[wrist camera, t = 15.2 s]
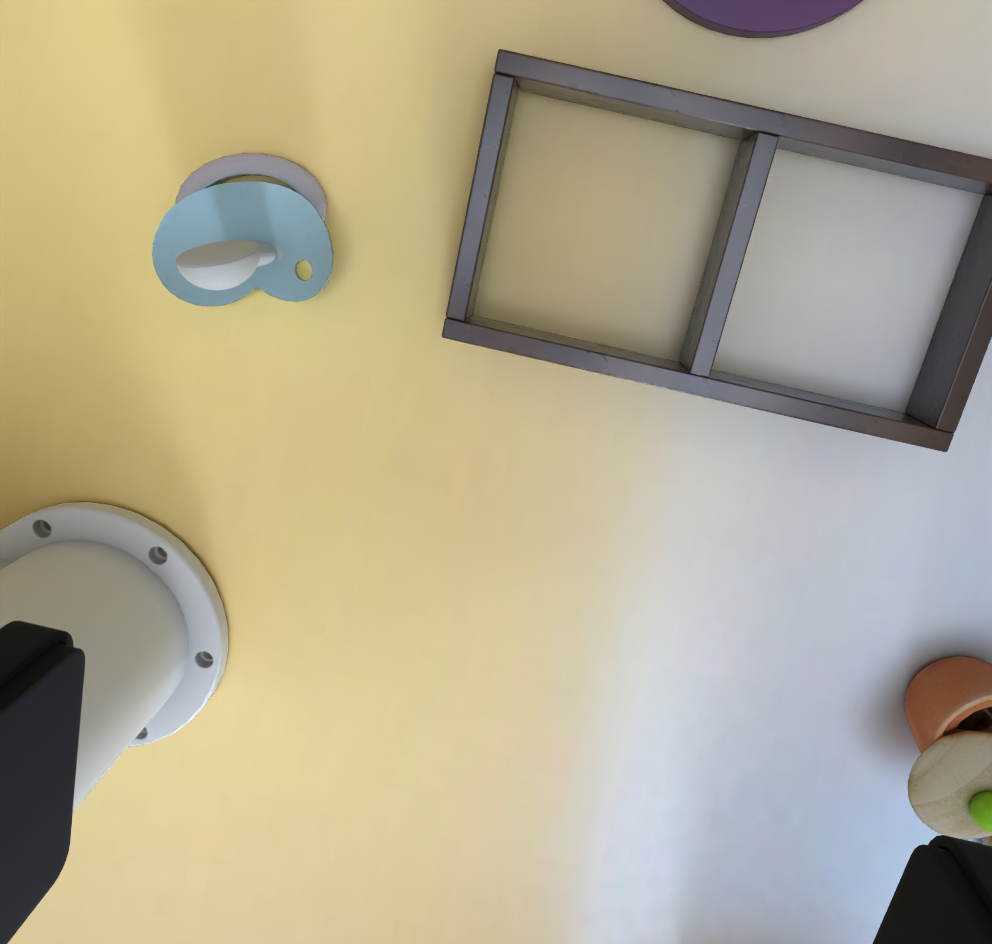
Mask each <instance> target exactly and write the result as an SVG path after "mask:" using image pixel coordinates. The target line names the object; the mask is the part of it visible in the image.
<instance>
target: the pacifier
mask: <svg viewBox="0 0 992 944" xmlns="http://www.w3.org/2000/svg"><path fill="white" fill-rule="evenodd" d="M245 175H264V176H269V177H274V178H276V179H279V180H281V181H283V182H286V183H287V184H288V185H290V186H291V187H292V188H294V189H295V190H296V191H297V192H295V191H293V190H291V189H288V188H286V187H283V186H280V185H277V184H272V183H267V182H259V181H240V182H231V183H225V184H219V183H221V182H223V181H226V180H228V179H231V178H234V177H239V176H245ZM218 184H219V185H218ZM326 209H327V202H326V198H325V195H324V192H323V189H322V187H321V186H320V185H319V183H318V182H317V181H316V179H315V178H314V176H312V175H311V174H310V173H309V172H307V171H306V170H305V169H303V168H302V167H301V166H300V165H297V164H295V163H293V162H291V161H288V160H286V159H284V158H281V157H276V156H272V155H267V154H254V153H242V154H236V155H230V156H225V157H221V158H219V159H216V160H214V161H211V162H209V163H206V164H205V165H203V166H202V167H200V168H199V169H197V170H196V171H195V172H193V173H192V174H191V175H190V176H189V177H188V178H187V180H186V181H185V182H184V183H183V184H182V186H181V188H180V190H179V193H178V195H177V198H176V204H175V205H174V206H173V207H172V208H171V209H170V210H169V211H168V212H167V213H166V214H165V216H164V218H163V219H162V221H161V223H160V225H159V228H158V230H157V232H156V235H155V239H154V242H153V251H152V256H153V263H154V267H155V270H156V273H157V275H158V277H159V278H160V280H161V282H162V283H163V285H164V286H165V287H166V288H167V289H168V290H169V291H170V292H171V293H173V294H174V295H175V296H177V297H178V298H180V299H182V300H184V301H186V302H189V303H191V304H194V305H199V306H220V305H226V304H229V303H232V302H235V301H237V300H238V299H240V298H242V297H244V296H245V295H247V294H248V293H249V292H250V291H252V290H256V289H259V290H263V291H264V292H266V293H267V294H269V295H271V296H273V297H276V298H278V299H281V300H285V301H294V302H298V301H304V300H308V299H310V298H312V297H314V296H315V295H317V294H318V293H319V292H320V291H321V290H323V288H324V287H325V286H326V284H327V283H328V281H329V278H330V275H331V273H332V267H333V248H332V242H331V238H330V234H329V231H328V229H327V227H326V225H325V222H324V221H325V219H326ZM301 260H307V261H308V262H309V263H310V264H311V266H312V276H311V278H310V279H309V280H307V281H305V280H302V279H301V278H300V277H299V276H298V274H297V265H298V263H299V262H300V261H301Z"/></svg>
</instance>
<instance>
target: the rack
mask: <svg viewBox="0 0 992 944" xmlns="http://www.w3.org/2000/svg"><path fill="white" fill-rule="evenodd" d="M494 71H495V73H494V74H493V79H492V84H491V89H490V94H489V99H488V104H487V109H486V114H485V119H484V124H483V129H482V134H481V139H480V145H479V150H478V155H477V160H476V165H475V170H474V175H473V180H472V185H471V190H470V195H469V200H468V205H467V210H466V216H465V221H464V226H463V231H462V236H461V241H460V246H459V251H458V256H457V261H456V266H455V271H454V276H453V281H452V286H451V292H450V297H449V302H448V307H447V312H446V317H447V318H446V319H445V322H444V327H443V332H442V337H443V338H446V339H451V340H455V341H460V342H464V343H468V344H473V345H477V346H482V347H486V348H490V349H495V350H499V351H504V352H508V353H512V354H517V355H521V356H525V357H530V358H534V359H539V360H543V361H547V362H552V363H556V364H561V365H565V366H569V367H574V368H578V369H583V370H587V371H591V372H596V373H600V374H604V375H609V376H613V377H618V378H622V379H626V380H631V381H635V382H640V383H644V384H648V385H653V386H657V387H662V388H666V389H670V390H675V391H679V392H684V393H688V394H692V395H697V396H701V397H705V398H710V399H714V400H719V401H723V402H727V403H732V404H736V405H741V406H745V407H749V408H754V409H758V410H763V411H767V412H771V413H776V414H780V415H784V416H789V417H793V418H798V419H802V420H806V421H811V422H815V423H820V424H824V425H828V426H833V427H837V428H842V429H846V430H850V431H855V432H859V433H863V434H868V435H872V436H877V437H881V438H885V439H890V440H894V441H899V442H903V443H907V444H912V445H916V446H921V447H925V448H929V449H934V450H938V451H943V452H947V451H948V448H949V446H950V443H951V440H952V438H953V435H954V434H953V433H954V432H955V431H956V428H957V425H958V423H959V420H960V418H961V415H962V412H963V410H964V407H965V405H966V402H967V399H968V397H969V394H970V392H971V389H972V386H973V384H974V381H975V379H976V376H977V373H978V371H979V368H980V366H981V363H982V360H983V358H984V355H985V353H986V350H987V347H988V345H989V342H990V340H991V337H992V159H989V158H984V157H980V156H975V155H971V154H966V153H962V152H957V151H953V150H948V149H944V148H940V147H935V146H931V145H926V144H922V143H917V142H913V141H908V140H904V139H899V138H895V137H891V136H886V135H882V134H877V133H873V132H868V131H864V130H859V129H855V128H850V127H846V126H841V125H837V124H833V123H828V122H824V121H819V120H815V119H810V118H806V117H801V116H797V115H792V114H788V113H783V112H779V111H775V110H770V109H766V108H761V107H757V106H752V105H748V104H743V103H739V102H734V101H730V100H726V99H721V98H717V97H712V96H708V95H703V94H699V93H694V92H690V91H685V90H681V89H676V88H672V87H668V86H663V85H659V84H654V83H650V82H645V81H641V80H636V79H632V78H627V77H623V76H619V75H614V74H610V73H605V72H601V71H596V70H592V69H587V68H583V67H578V66H574V65H569V64H565V63H561V62H556V61H552V60H547V59H543V58H538V57H534V56H529V55H525V54H520V53H516V52H511V51H507V50H503V49H499V50H498V53H497V58H496V63H495V69H494ZM518 90H521V91H525V92H529V93H534V94H538V95H543V96H547V97H552V98H556V99H561V100H565V101H569V102H574V103H578V104H583V105H587V106H592V107H596V108H601V109H605V110H610V111H614V112H618V113H623V114H627V115H632V116H636V117H641V118H645V119H650V120H654V121H658V122H663V123H667V124H672V125H676V126H681V127H685V128H690V129H694V130H699V131H703V132H707V133H712V134H716V135H721V136H725V137H730V138H734V139H739V140H742V141H741V143H740V146H739V150H738V154H737V157H736V161H735V164H734V168H733V171H732V175H731V179H730V182H729V186H728V189H727V193H726V196H725V200H724V203H723V207H722V211H721V214H720V218H719V221H718V225H717V228H716V232H715V236H714V239H713V243H712V246H711V250H710V253H709V257H708V260H707V264H706V268H705V271H704V275H703V278H702V282H701V285H700V289H699V293H698V296H697V300H696V303H695V307H694V310H693V314H692V317H691V321H690V325H689V328H688V332H687V335H686V339H685V342H684V346H683V350H682V353H681V357H680V360H679V362H676V361H671V360H667V359H663V358H658V357H654V356H649V355H645V354H641V353H636V352H632V351H627V350H623V349H619V348H614V347H610V346H605V345H601V344H597V343H592V342H588V341H583V340H579V339H575V338H570V337H566V336H561V335H557V334H553V333H548V332H544V331H539V330H535V329H531V328H526V327H522V326H517V325H513V324H509V323H504V322H500V321H495V320H491V319H487V318H482V317H478V316H473V315H472V314H473V310H474V305H475V300H476V295H477V290H478V285H479V281H480V276H481V271H482V266H483V261H484V256H485V251H486V247H487V242H488V237H489V232H490V227H491V222H492V218H493V213H494V208H495V203H496V198H497V193H498V188H499V184H500V179H501V174H502V169H503V164H504V159H505V155H506V150H507V145H508V140H509V135H510V130H511V125H512V121H513V116H514V111H515V106H516V101H517V96H518ZM776 148H779V149H783V150H788V151H792V152H796V153H801V154H805V155H810V156H814V157H819V158H823V159H828V160H832V161H837V162H841V163H845V164H850V165H854V166H859V167H863V168H868V169H872V170H877V171H881V172H885V173H890V174H894V175H899V176H903V177H908V178H912V179H917V180H921V181H926V182H930V183H934V184H939V185H943V186H948V187H952V188H957V189H961V190H966V191H970V192H974V193H979V194H983V195H985V196H984V198H983V201H982V204H981V207H980V209H979V212H978V215H977V218H976V220H975V223H974V226H973V229H972V231H971V234H970V237H969V240H968V242H967V245H966V248H965V251H964V253H963V256H962V259H961V262H960V264H959V267H958V270H957V272H956V275H955V278H954V281H953V283H952V286H951V289H950V292H949V294H948V297H947V300H946V303H945V305H944V308H943V311H942V314H941V316H940V319H939V322H938V325H937V327H936V330H935V333H934V336H933V338H932V341H931V344H930V346H929V349H928V352H927V355H926V357H925V360H924V363H923V366H922V368H921V371H920V374H919V377H918V379H917V382H916V385H915V388H914V390H913V393H912V396H911V399H910V401H909V404H908V407H907V410H906V414H904V413H900V412H896V411H891V410H887V409H882V408H878V407H874V406H869V405H865V404H860V403H856V402H852V401H847V400H843V399H838V398H834V397H830V396H825V395H821V394H816V393H812V392H808V391H803V390H799V389H794V388H790V387H786V386H781V385H777V384H772V383H768V382H764V381H759V380H755V379H750V378H746V377H742V376H737V375H733V374H728V373H724V372H720V371H715V370H711V369H712V366H713V362H714V359H715V355H716V352H717V349H718V345H719V342H720V338H721V335H722V332H723V328H724V325H725V321H726V318H727V314H728V311H729V308H730V304H731V301H732V297H733V294H734V291H735V287H736V284H737V280H738V277H739V273H740V270H741V267H742V263H743V260H744V256H745V253H746V250H747V246H748V243H749V239H750V236H751V232H752V229H753V226H754V222H755V219H756V215H757V212H758V208H759V205H760V202H761V198H762V195H763V191H764V188H765V185H766V181H767V178H768V174H769V171H770V167H771V164H772V161H773V157H774V154H775V150H776Z"/></svg>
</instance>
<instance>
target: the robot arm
mask: <svg viewBox="0 0 992 944" xmlns="http://www.w3.org/2000/svg"><path fill="white" fill-rule="evenodd" d="M162 549H164V550H165V552H164V551H163V550H162ZM227 653H228V625H227V620H226V616H225V611H224V607H223V603H222V601H221V598H220V596H219V594H218V591H217V589H216V587H215V584H214V582H213V580H212V579H211V577H210V576H209V574H208V573H207V571H206V570H205V568H204V567H203V565H202V564H201V562H200V561H199V559H198V558H197V557H196V556H195V555H194V554H193V553H192V552H191V551H190V550H189V549H188V548H187V547H186V546H185V545H184V544H183V542H182V541H180V540H179V539H178V538H176V537H175V536H174V535H172V534H171V533H170V532H168V531H167V530H166V529H164V528H163V527H162V526H160V525H159V524H157V523H155V522H153V521H151V520H149V519H147V518H145V517H143V516H141V515H140V514H138V513H135V512H132V511H129V510H125V509H122V508H119V507H116V506H113V505H106V504H99V503H92V502H75V503H62V504H58V505H54V506H50V507H46V508H42V509H39V510H37V511H35V512H33V513H31V514H29V515H27V516H24V517H22V518H20V519H18V520H17V521H15V522H14V523H12V524H11V525H9V526H8V527H6V528H4V529H3V530H1V531H0V944H7V943H8V942H9V941H10V939H11V938H12V937H13V935H14V934H15V933H16V932H17V930H18V929H19V928H20V926H21V925H22V924H23V923H24V921H25V920H26V919H27V917H28V916H29V915H30V914H31V912H32V911H33V910H34V909H35V907H36V906H37V905H38V903H39V902H40V901H41V900H42V898H43V897H44V896H45V894H46V893H47V892H48V891H49V889H50V888H51V887H52V885H53V884H54V882H55V881H56V880H57V878H58V876H59V874H60V872H61V871H62V869H63V866H64V864H65V861H66V858H67V855H68V852H69V846H70V836H71V825H72V813H73V812H74V810H75V809H76V808H77V807H78V806H79V804H80V803H81V802H82V801H83V800H84V799H85V797H86V796H87V795H88V794H89V793H90V791H91V790H92V789H93V788H94V787H95V785H96V784H97V783H98V782H99V781H100V779H101V778H102V777H103V776H104V775H105V774H106V772H107V771H108V770H109V769H110V768H111V766H112V765H113V764H114V763H115V762H116V760H117V759H118V758H119V757H120V756H121V755H122V753H123V752H124V751H125V750H126V749H127V747H133V746H138V745H143V744H148V743H152V742H155V741H157V740H159V739H162V738H164V737H167V736H169V735H171V734H173V733H174V732H176V731H177V730H179V729H180V728H182V727H183V726H184V725H186V724H187V723H189V722H190V721H191V720H192V719H193V718H194V717H195V715H196V714H197V713H198V712H199V711H200V710H201V709H202V708H203V707H204V705H205V704H206V703H207V701H208V700H209V698H210V697H211V695H212V694H213V693H214V691H215V690H216V688H217V685H218V683H219V681H220V679H221V676H222V674H223V672H224V668H225V663H226V658H227ZM873 944H992V846H988V845H984V844H980V843H975V842H971V841H967V840H962V839H958V838H954V837H950V836H945V835H941V836H936V837H935V838H934V839H932V840H931V841H930V843H929V844H928V845H919V846H918V847H917V848H915V849H914V851H913V853H912V854H911V856H910V859H909V861H908V863H907V866H906V868H905V870H904V873H903V875H902V877H901V879H900V882H899V884H898V886H897V889H896V891H895V893H894V896H893V898H892V900H891V902H890V905H889V907H888V909H887V912H886V914H885V916H884V919H883V921H882V923H881V926H880V928H879V930H878V932H877V935H876V937H875V939H874V942H873Z"/></svg>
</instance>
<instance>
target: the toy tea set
mask: <svg viewBox="0 0 992 944" xmlns="http://www.w3.org/2000/svg"><path fill="white" fill-rule="evenodd" d="M904 708H905V715H906V718H907V720H908V723H909V725H910V728H911V730H912V733H913V735H914V737H915V740H916V742H917V745H918V747H919V750H920V752H921V755H920V757H919V758H918V759H917V761H916V762H915V764H914V765H913V767H912V770H911V772H910V775H909V779H908V797H909V800H910V804H911V806H912V808H913V810H914V812H915V813H916V815H917V816H918V817H919V819H920V820H921V821H922V822H923V823H924V824H926V825H927V826H928V827H930V828H931V829H932V830H934V831H936V832H938V833H941V834H943V835H946V836H950V837H954V838H960V839H976V838H982V837H983V840H982V844H984V845H988V846H992V665H990V664H988V663H987V662H985V661H982V660H979V659H976V658H971V657H966V656H955V657H949V658H945V659H941V660H938V661H936V662H934V663H932V664H930V665H928V666H927V667H925V668H924V669H922V670H921V671H920V672H919V673H918V674H917V675H916V676H915V677H914V679H913V680H912V681H911V683H910V685H909V687H908V689H907V692H906V695H905V700H904Z"/></svg>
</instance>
